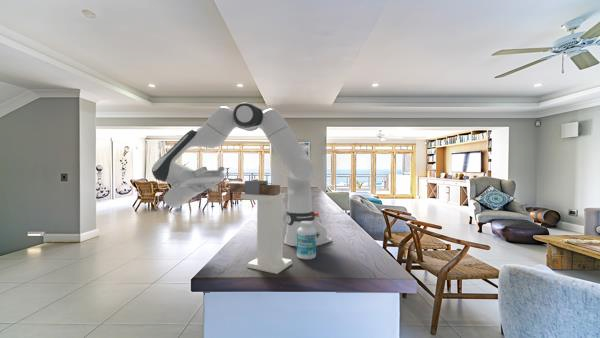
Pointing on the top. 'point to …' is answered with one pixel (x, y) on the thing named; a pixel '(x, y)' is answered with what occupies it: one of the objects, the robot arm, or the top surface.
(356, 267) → the top surface
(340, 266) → the top surface
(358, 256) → the top surface
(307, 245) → the pill bottle
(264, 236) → the post
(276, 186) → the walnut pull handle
